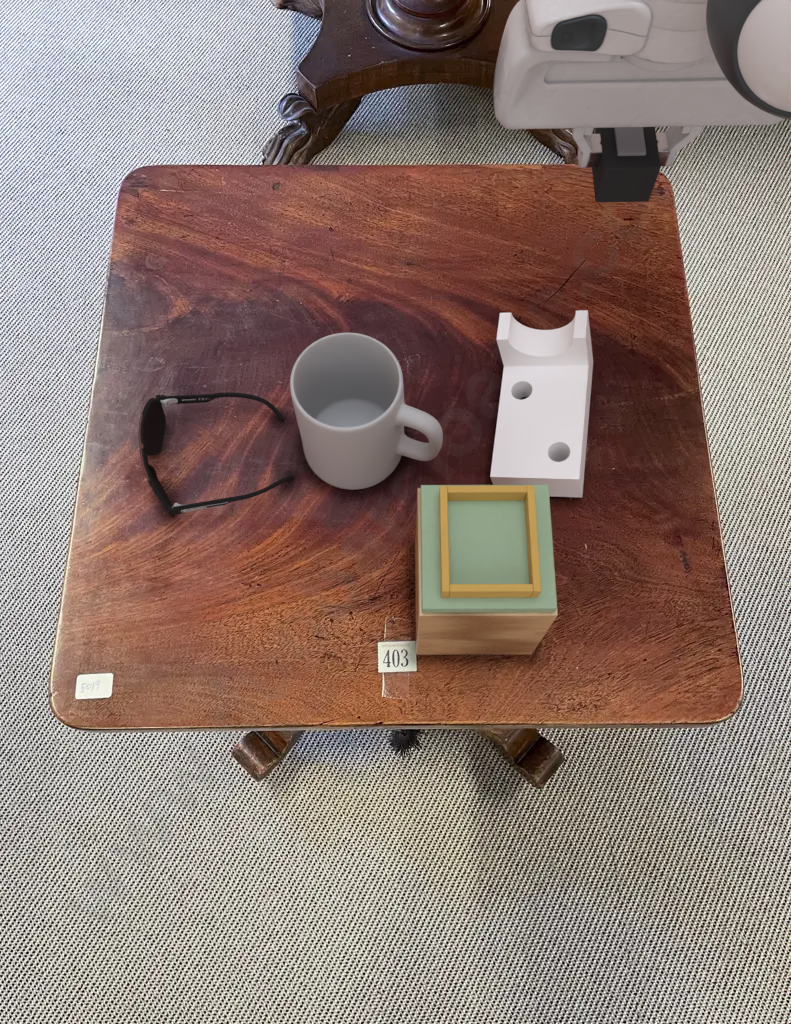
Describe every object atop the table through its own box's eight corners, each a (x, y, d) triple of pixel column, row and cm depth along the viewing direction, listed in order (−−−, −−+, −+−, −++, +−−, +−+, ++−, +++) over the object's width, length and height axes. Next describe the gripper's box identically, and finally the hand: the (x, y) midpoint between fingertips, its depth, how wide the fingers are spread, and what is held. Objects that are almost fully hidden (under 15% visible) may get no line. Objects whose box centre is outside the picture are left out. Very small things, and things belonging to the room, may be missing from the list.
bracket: (512, 362, 77) (499, 312, 71) (593, 361, 75) (587, 310, 68) (496, 494, 73) (481, 454, 66) (582, 497, 70) (575, 456, 64)
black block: (641, 150, 66) (654, 110, 63) (648, 202, 64) (662, 164, 61) (589, 151, 66) (599, 111, 63) (595, 202, 64) (605, 165, 61)
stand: (525, 545, 70) (548, 487, 59) (531, 654, 67) (558, 615, 55) (414, 545, 70) (417, 487, 59) (416, 654, 67) (418, 615, 56)
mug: (287, 471, 72) (269, 409, 62) (327, 388, 75) (315, 316, 65) (420, 519, 71) (424, 463, 61) (456, 432, 74) (464, 365, 63)
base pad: (546, 490, 59) (552, 475, 56) (554, 612, 56) (561, 602, 53) (420, 490, 59) (421, 475, 56) (422, 612, 56) (422, 602, 53)
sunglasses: (142, 418, 74) (133, 388, 70) (280, 403, 76) (280, 373, 72) (153, 531, 70) (144, 507, 66) (298, 511, 73) (299, 487, 68)
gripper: (841, -55, 52) (757, 125, 65) (502, -47, 52) (486, 130, 65) (862, 21, 50) (771, 192, 62) (507, 28, 50) (489, 196, 63)
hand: (623, 160), depth 64 cm, fingers closed on black block, 4 cm apart
